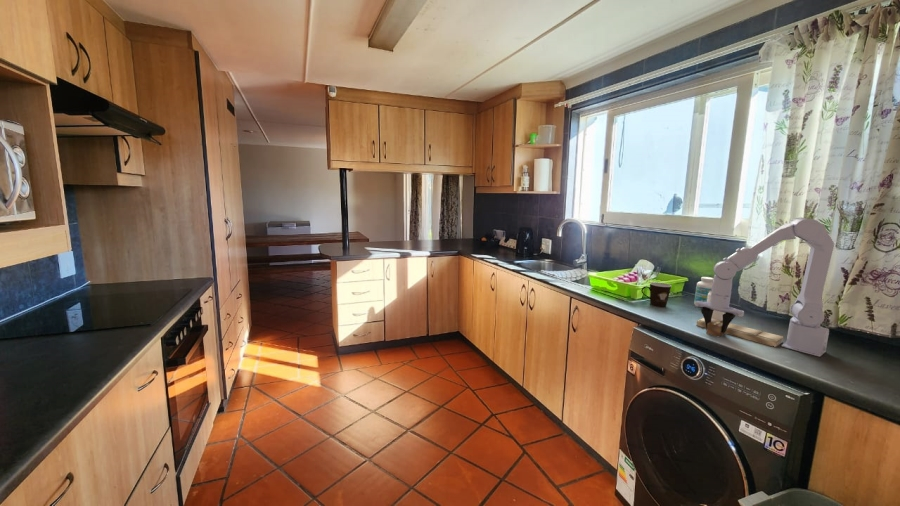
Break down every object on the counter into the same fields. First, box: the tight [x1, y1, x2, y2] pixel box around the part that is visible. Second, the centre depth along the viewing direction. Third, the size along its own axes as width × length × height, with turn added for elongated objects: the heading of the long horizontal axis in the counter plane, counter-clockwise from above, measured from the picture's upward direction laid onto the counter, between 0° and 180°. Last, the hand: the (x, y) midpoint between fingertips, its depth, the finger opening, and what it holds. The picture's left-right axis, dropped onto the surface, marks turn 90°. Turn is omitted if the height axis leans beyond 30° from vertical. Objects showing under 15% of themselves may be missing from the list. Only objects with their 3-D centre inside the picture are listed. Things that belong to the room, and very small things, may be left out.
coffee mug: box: [640, 281, 672, 309], centre depth 168 cm, size 12×9×10 cm
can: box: [707, 290, 726, 321], centre depth 148 cm, size 6×6×12 cm
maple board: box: [696, 317, 784, 348], centre depth 134 cm, size 24×8×2 cm, turn 34°
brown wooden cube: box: [706, 321, 726, 338], centre depth 133 cm, size 4×5×4 cm
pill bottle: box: [693, 276, 714, 305], centre depth 167 cm, size 8×7×14 cm
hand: (715, 329), depth 134 cm, fingers open, 4 cm apart
